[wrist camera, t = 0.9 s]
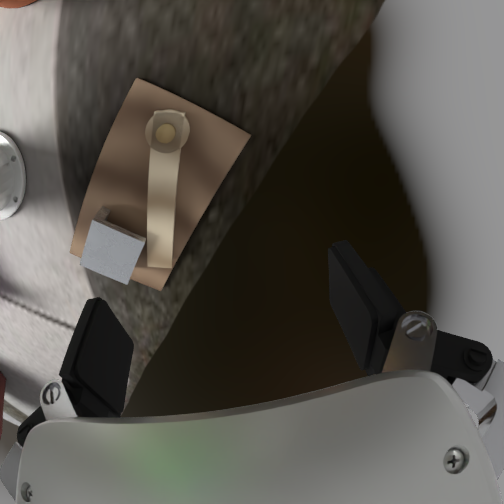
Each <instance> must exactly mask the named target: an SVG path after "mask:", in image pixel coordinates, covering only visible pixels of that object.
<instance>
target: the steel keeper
mask: <svg viewBox="0 0 504 504" xmlns="http://www.w3.org/2000/svg"><path fill="white" fill-rule="evenodd" d="M109 213H110V209H108V208H105V207H103V206H102V207H101V208H100V210H99V211H98V212H97V214H96V215H95V217H94V218H93V220H92V222H91V226H90V229H89V232H88V236H87V239H86V243H85V246H84V250H83V254H82V257H81V261H80V265H82V266H84V267H86V268H88V269H91V270H93V271H95V272H98V273H100V274H102V275H105V276H107V277H109V278H112V279H114V280H117V281H119V282H122V283H124V284H128V282H129V279H130V277H131V274H132V272H133V269H134V267H135V265H136V262H137V260H138V258H139V255H140V253H141V251H142V248H143V246H144V244H145V241H146V238H144V237H142V236H140V235H137V234H135V233H133V232H130V231H128V230H126V229H124V228H121V227H119V226H117V225H115V224H112V223H110V222H108V221H107V219H108V216H109Z"/></svg>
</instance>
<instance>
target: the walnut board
mask: <svg viewBox="0 0 504 504" xmlns="http://www.w3.org/2000/svg"><path fill="white" fill-rule="evenodd" d="M166 109H175V110H178V111H180V112H186V114H185V116H186V117H187V119H188V121H189V124H190V133H189V136H188V139H187V141H186V143H185V144H184V145H183V146H182V147H181V153H180V162H179V172H178V183H177V195H176V208H175V223H174V242H173V262H172V268H160V267H148V263H147V203H148V178H149V162H150V148H151V147H150V145H149V144H148V142H147V140H146V137H145V129H146V125H147V123H148V121H149V120H150V119H151V117H153V116H154V111H157V110H166ZM250 137H251V135H250V134H249V133H247V132H245V131H243V130H242V129H240V128H238V127H236V126H235V125H233V124H231V123H229V122H227V121H226V120H224V119H222V118H220V117H218V116H216V115H214V114H213V113H211V112H209V111H207V110H205V109H203V108H201V107H199V106H197V105H195V104H193V103H191V102H189V101H187V100H185V99H183V98H181V97H179V96H177V95H175V94H173V93H171V92H168V91H166V90H164V89H162V88H160V87H158V86H155V85H153V84H151V83H149V82H146V81H144V80H142V79H139V78H136V80H135V81H134V83H133V85H132V87H131V89H130V91H129V93H128V94H127V96H126V98H125V100H124V102H123V104H122V106H121V108H120V110H119V112H118V114H117V117H116V119H115V121H114V123H113V125H112V127H111V130H110V132H109V134H108V136H107V139H106V141H105V143H104V146H103V148H102V151H101V153H100V156H99V158H98V161H97V164H96V166H95V169H94V172H93V174H92V177H91V180H90V183H89V186H88V189H87V192H86V195H85V198H84V201H83V204H82V208H81V211H80V214H79V218H78V221H77V225H76V229H75V233H74V236H73V240H72V245H71V249H70V253H71V254H73V255H76V256H78V257H80V258H81V257H82V254H83V250H84V246H85V243H86V239H87V236H88V232H89V229H90V226H91V222H92V220H93V218H94V217H95V215H96V214H97V212H98V211H99V210H100V208H101V207H102V206H103V207H105V208H108V209H110V213H109V216H108V219H107V221H108V222H110V223H112V224H115V225H117V226H119V227H121V228H124V229H126V230H128V231H130V232H133V233H135V234H137V235H140V236H142V237H144V238H146V241H145V244H144V246H143V248H142V251H141V253H140V255H139V258H138V260H137V262H136V265H135V267H134V269H133V272H132V274H131V277H130V279H132V280H134V281H137V282H139V283H142V284H144V285H147V286H150V287H152V288H155V289H157V290H160V291H161V290H162V288H163V286H164V284H165V282H166V280H167V278H168V276H169V275H170V273H171V271H172V269H173V267H174V265H175V263H176V261H177V260H178V258H179V256H180V254H181V252H182V250H183V249H184V247H185V245H186V243H187V241H188V240H189V238H190V236H191V234H192V232H193V231H194V229H195V227H196V225H197V224H198V222H199V220H200V218H201V217H202V215H203V213H204V211H205V210H206V208H207V206H208V205H209V203H210V201H211V199H212V198H213V196H214V194H215V193H216V191H217V189H218V188H219V186H220V184H221V183H222V181H223V180H224V178H225V176H226V175H227V173H228V171H229V170H230V168H231V166H232V165H233V163H234V162H235V160H236V158H237V157H238V155H239V154H240V152H241V151H242V149H243V147H244V146H245V144H246V143H247V141H248V140H249V138H250Z"/></svg>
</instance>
